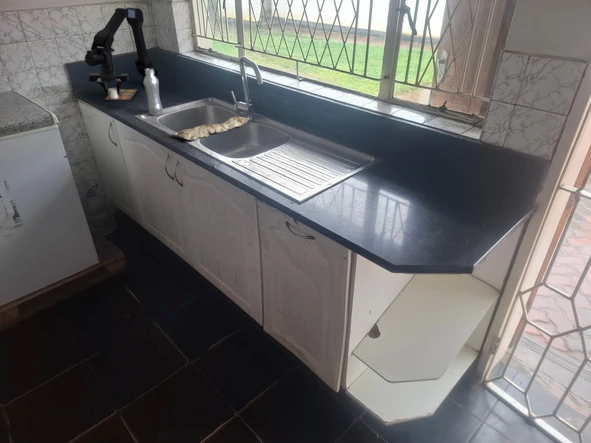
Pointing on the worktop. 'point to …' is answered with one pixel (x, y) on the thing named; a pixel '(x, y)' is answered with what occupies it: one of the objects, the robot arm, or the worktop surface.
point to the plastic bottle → (152, 92)
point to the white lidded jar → (112, 93)
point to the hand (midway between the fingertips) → (113, 95)
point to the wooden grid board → (124, 94)
